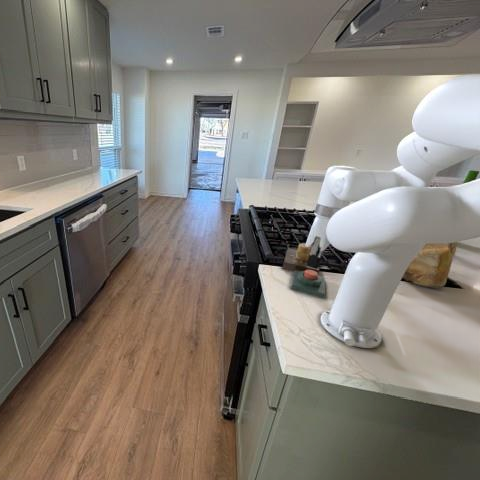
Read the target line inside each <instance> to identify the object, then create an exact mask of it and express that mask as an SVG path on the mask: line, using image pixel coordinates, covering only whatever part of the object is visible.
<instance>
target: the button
mask: <svg viewBox="0 0 480 480" xmlns="http://www.w3.org/2000/svg"><path fill="white" fill-rule="evenodd" d="M318 275H319V272H318V273H317V272H315V271H313V270H305V273H304V277H306V278H308V279H311V280H316V279H317V276H318Z"/></svg>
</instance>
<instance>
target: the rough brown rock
mask: <svg viewBox="0 0 480 480" xmlns="http://www.w3.org/2000/svg"><path fill="white" fill-rule="evenodd" d="M457 243H458V242H453V243H444V244H425V246H424V247H423V249H422V250H421V251H420V252H419V253H418V255H417V256H416V257H415V258H414V259H413V261H412V262H411V263H410V265H409V266H408V268H407V270H406V271H405V273H404V275H403V277H402V279H404V280H405V281H406V282H412V283H413V284H415V285H419V286H422V287H427V288H431V289H439V288H442V287H443V288H444V286H445V285H446V283H448V282H447V280H448V278H449V274H450V271H451V267H452V262H453V259H454V257H455V254H456V252H457Z"/></svg>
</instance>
